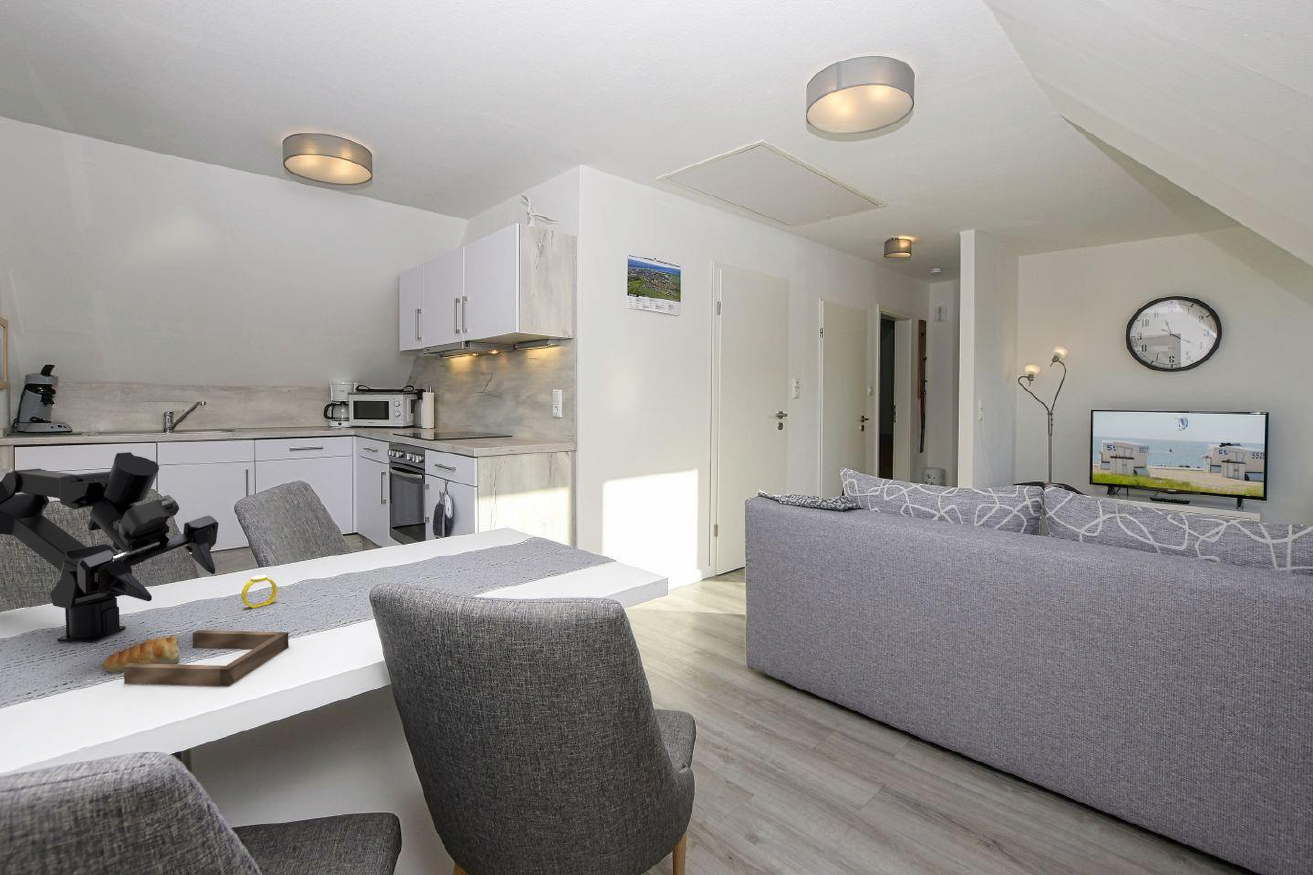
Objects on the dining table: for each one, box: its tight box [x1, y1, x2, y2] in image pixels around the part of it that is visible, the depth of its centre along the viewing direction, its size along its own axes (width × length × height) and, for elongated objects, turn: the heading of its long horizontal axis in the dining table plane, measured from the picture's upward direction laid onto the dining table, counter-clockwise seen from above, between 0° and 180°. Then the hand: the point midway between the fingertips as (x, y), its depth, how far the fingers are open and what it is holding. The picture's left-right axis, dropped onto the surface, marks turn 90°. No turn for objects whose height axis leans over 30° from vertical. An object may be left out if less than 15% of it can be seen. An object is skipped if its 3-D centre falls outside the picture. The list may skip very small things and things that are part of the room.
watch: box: [241, 574, 278, 609], centre depth 125 cm, size 6×3×6 cm, turn 145°
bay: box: [123, 629, 289, 687], centre depth 98 cm, size 15×14×2 cm
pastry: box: [102, 634, 181, 674], centre depth 98 cm, size 9×7×4 cm
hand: (183, 584), depth 100 cm, fingers open, 9 cm apart
